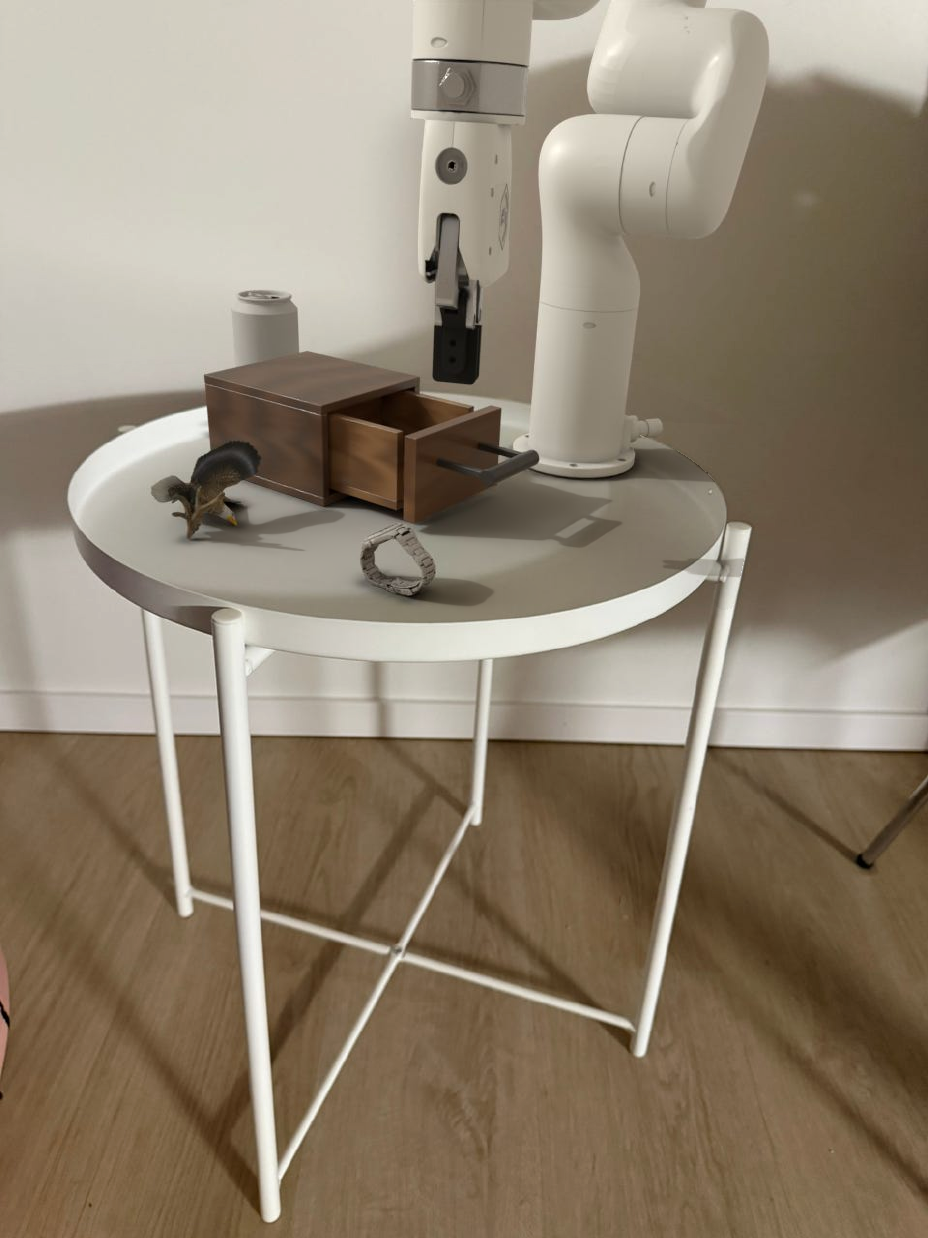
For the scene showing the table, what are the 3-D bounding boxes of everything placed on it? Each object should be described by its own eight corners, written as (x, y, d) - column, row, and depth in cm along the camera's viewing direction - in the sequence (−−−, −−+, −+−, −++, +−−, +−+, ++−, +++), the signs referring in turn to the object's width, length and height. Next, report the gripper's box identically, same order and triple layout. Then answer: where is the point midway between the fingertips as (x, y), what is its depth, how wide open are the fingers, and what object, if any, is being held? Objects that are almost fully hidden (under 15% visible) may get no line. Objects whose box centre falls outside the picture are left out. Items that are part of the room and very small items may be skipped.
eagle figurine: (256, 532, 76) (283, 475, 83) (197, 463, 73) (230, 409, 80) (186, 568, 79) (217, 510, 86) (126, 503, 76) (163, 448, 83)
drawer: (551, 500, 86) (558, 421, 83) (472, 542, 77) (476, 455, 74) (385, 452, 96) (385, 379, 92) (297, 485, 87) (294, 405, 83)
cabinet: (418, 468, 95) (420, 376, 90) (323, 506, 85) (321, 405, 80) (310, 437, 102) (307, 350, 98) (211, 468, 92) (203, 374, 88)
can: (305, 404, 113) (301, 298, 107) (240, 406, 111) (232, 299, 105) (296, 387, 119) (292, 286, 113) (234, 389, 117) (227, 287, 111)
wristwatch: (378, 569, 74) (378, 509, 72) (443, 592, 71) (445, 530, 69) (348, 585, 71) (347, 522, 69) (414, 609, 68) (416, 545, 66)
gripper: (508, 96, 55) (488, 411, 63) (540, 103, 68) (520, 364, 77) (382, 90, 56) (379, 400, 65) (437, 98, 69) (428, 355, 78)
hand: (455, 379), depth 71 cm, fingers closed
